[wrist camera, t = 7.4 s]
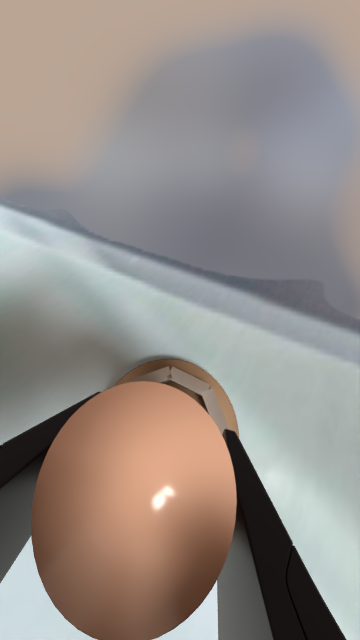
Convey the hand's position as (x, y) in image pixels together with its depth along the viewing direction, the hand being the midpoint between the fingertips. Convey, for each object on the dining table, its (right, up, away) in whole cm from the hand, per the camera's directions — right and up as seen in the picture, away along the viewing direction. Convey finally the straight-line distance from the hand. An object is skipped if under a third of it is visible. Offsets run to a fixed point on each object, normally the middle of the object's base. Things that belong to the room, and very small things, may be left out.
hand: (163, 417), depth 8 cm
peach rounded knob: (0, -4, +6) cm, 7 cm away
